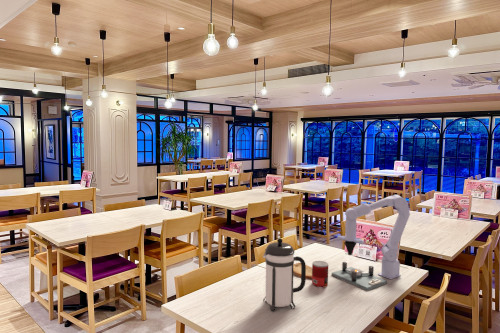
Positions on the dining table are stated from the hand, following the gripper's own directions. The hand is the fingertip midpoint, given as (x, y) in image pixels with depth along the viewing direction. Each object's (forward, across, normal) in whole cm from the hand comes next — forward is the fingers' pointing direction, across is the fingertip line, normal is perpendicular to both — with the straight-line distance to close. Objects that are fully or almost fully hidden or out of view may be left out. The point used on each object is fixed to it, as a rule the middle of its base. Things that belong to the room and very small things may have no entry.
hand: (350, 254), depth 190 cm
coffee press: (+11, -6, -55) cm, 57 cm away
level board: (+10, +7, -5) cm, 14 cm away
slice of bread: (+11, -19, -17) cm, 28 cm away
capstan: (+9, +7, -7) cm, 13 cm away
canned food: (+11, -4, -25) cm, 27 cm away
